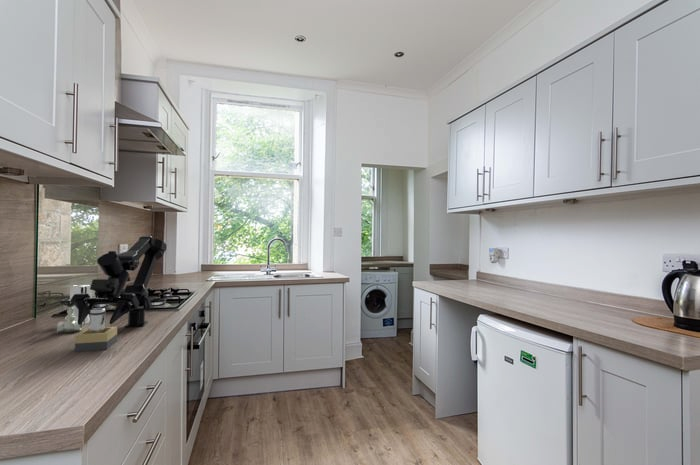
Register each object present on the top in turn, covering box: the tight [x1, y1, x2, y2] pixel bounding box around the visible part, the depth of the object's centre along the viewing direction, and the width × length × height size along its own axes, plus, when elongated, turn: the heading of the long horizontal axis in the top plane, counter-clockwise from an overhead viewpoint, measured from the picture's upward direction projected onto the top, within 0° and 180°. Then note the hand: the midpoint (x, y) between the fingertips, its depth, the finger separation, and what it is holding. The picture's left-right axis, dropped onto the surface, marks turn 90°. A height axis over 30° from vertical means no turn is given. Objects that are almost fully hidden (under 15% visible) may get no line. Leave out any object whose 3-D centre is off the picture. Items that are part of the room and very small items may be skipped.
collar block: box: [74, 326, 118, 353], centre depth 108 cm, size 8×8×5 cm
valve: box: [56, 297, 84, 333], centre depth 123 cm, size 7×7×12 cm
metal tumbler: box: [89, 307, 107, 334], centre depth 108 cm, size 4×4×12 cm
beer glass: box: [69, 284, 93, 325], centre depth 135 cm, size 7×7×15 cm
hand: (94, 323), depth 106 cm, fingers open, 9 cm apart
